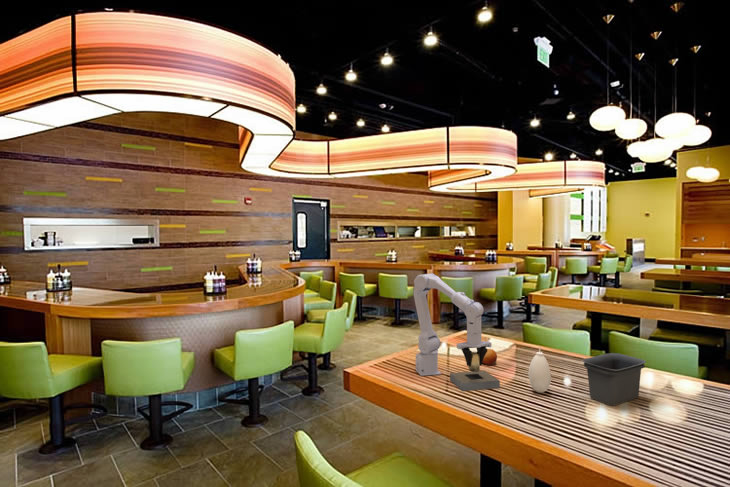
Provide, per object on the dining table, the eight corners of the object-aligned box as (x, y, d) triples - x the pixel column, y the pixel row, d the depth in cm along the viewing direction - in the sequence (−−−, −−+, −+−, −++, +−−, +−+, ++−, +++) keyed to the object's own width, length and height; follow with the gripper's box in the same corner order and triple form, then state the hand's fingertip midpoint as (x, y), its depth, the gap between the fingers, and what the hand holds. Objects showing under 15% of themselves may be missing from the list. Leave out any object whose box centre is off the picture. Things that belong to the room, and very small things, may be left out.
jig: (462, 391, 153) (462, 383, 153) (449, 380, 165) (449, 373, 165) (499, 387, 156) (499, 380, 156) (484, 377, 168) (484, 370, 168)
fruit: (503, 363, 183) (494, 348, 183) (488, 371, 183) (480, 357, 183) (497, 357, 191) (489, 343, 191) (484, 366, 191) (475, 352, 191)
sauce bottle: (553, 396, 147) (553, 349, 147) (531, 395, 149) (531, 348, 149) (547, 388, 155) (547, 343, 155) (526, 387, 156) (527, 342, 156)
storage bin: (614, 411, 135) (614, 370, 135) (573, 395, 149) (573, 357, 149) (650, 399, 144) (650, 361, 144) (608, 385, 158) (608, 350, 158)
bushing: (471, 372, 158) (471, 354, 158) (466, 368, 162) (466, 351, 162) (481, 371, 159) (481, 354, 159) (476, 367, 163) (476, 351, 163)
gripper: (461, 335, 155) (462, 369, 155) (495, 333, 158) (495, 367, 158) (454, 331, 162) (454, 364, 162) (486, 329, 165) (486, 361, 165)
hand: (474, 365), depth 160 cm, fingers closed on bushing, 4 cm apart
